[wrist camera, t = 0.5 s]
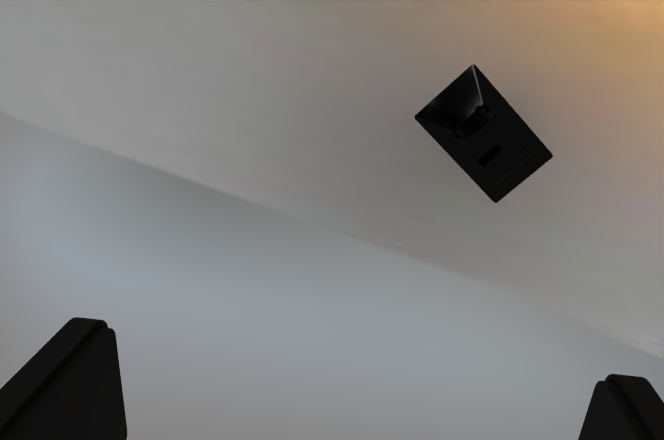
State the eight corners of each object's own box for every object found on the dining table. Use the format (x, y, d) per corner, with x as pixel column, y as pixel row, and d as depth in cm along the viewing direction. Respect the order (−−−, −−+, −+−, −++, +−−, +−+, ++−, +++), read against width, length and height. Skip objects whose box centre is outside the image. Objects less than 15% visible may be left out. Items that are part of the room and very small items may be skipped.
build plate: (390, 107, 38) (391, 119, 34) (469, 33, 36) (481, 36, 31) (498, 222, 41) (512, 247, 36) (578, 160, 38) (603, 179, 34)
